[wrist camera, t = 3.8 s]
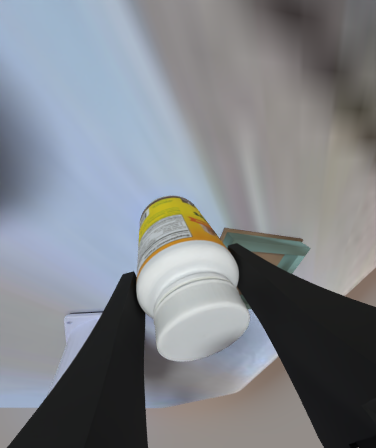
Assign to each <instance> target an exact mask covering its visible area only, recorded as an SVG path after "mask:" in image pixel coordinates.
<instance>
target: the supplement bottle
mask: <svg viewBox="0 0 376 448" xmlns="http://www.w3.org/2000/svg"><path fill="white" fill-rule="evenodd" d="M238 280H239V270H238V266H237V263H236V261H235V259H234V257H233V256H232V254H231V253H230V252H229V250H228V249H227V248H226V246H225V245H224V244H223V242H222V241H221V240H220V238H219V237H218V236H217V234H216V233H215V232H214V230H213V229H212V228H211V226H210V225H209V224H208V222H207V221H206V220H205V219H204V217H203V216H202V215H201V213H200V212H199V211H198V209H197V208H196V207H195V206H194V204H192V203H191V202H190V201H189V200H187V199H185V198H183V197H180V196H175V195H169V196H163V197H160V198H158V199H156V200H154V201H152V202H151V203H150V204H149V205H148V206H147V207H146V208H145V210H144V211H143V213H142V216H141V219H140V229H139V246H138V264H137V282H136V293H137V299H138V302H139V305H140V307H141V308H142V310H143V311H144V312H145V313H146V314H147V315H148V316H150V317H151V318H153V319H154V325H155V332H156V345H157V350H158V352H159V353H160V355H162V356H163V357H164V358H166V359H168V360H172V361H192V360H197V359H202V358H205V357H208V356H210V355H213V354H215V353H218V352H220V351H222V350H223V349H225V348H227V347H228V346H230V345H231V344H232V343H234V342H235V341H236V340H237V339H239V338H240V337H241V336H242V334H243V333H244V332H245V331H246V329H247V327H248V325H249V322H250V314H249V311H248V309H247V308H246V306H245V304H244V302H243V300H242V299H241V297H240V295H239V292H238V290H237V288H236V287H237V284H238Z"/></svg>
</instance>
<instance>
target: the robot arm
mask: <svg viewBox="0 0 376 448" xmlns="http://www.w3.org/2000/svg"><path fill="white" fill-rule="evenodd" d="M228 250H229V252H230V253H231V254H232V256H233V257H234V259H235V261H236V263H237V266H238V270H239V280H238V284H237V287H238V289H239V290H240V292H241V293H242V295H243V297H244V298H245V300H246V301H247V303H248V304H249V306H250V307H251V309H252V310H253V312H254V313H255V315H256V316H257V318H258V319H259V321H260V323H261V324H262V326H263V328H264V329H265V331H266V333H267V335H268V337H269V339H270V340H271V342H272V344H273V346H274V348H275V350H276V352H277V354H278V356H279V357H280V359H281V361H282V363H283V365H284V367H285V369H286V371H287V373H288V375H289V377H290V379H291V381H292V383H293V385H294V387H295V389H296V391H297V393H298V395H299V397H300V399H301V401H302V404H303V406H304V408H305V410H306V412H307V414H308V416H309V418H310V420H311V422H312V425H313V427H314V429H315V431H316V433H317V436H318V438H319V439H320V441H321V443H322V445H323V446H324V448H358V447H359V448H376V307H374V306H371V305H368V304H365V303H362V302H359V301H356V300H353V299H350V298H348V297H345V296H342V295H340V294H337V293H335V292H332V291H329V290H327V289H324V288H322V287H319V286H317V285H315V284H313V283H310V282H308V281H306V280H304V279H301V278H299V277H297V276H295V275H293V274H291V273H289V272H287V271H285V270H283V269H281V268H279V267H277V266H275V265H274V264H272V263H270V262H268V261H266V260H265V259H263V258H261V257H259V256H258V255H256V254H254V253H253V252H251V251H249V250H248V249H246V248H244V247H243V246H241V245H239V244H238V243H235V244H231V245H228ZM136 282H137V277H136V275H135V273H134V271H133V272H130V273H126V274H123V275H122V277H121V279H120V281H119V283H118V285H117V287H116V289H115V291H114V292H113V294H112V296H111V298H110V300H109V302H108V304H107V306H106V307H105V309H104V311H103V312H101V313H82V314H69V315H66V317H65V319H64V324H65V334H66V344H67V345H66V347H65V350H64V353H63V355H62V358H61V361H60V363H59V366H58V369H57V371H56V374H55V377H54V379H53V382H52V385H51V387H50V390H49V393H48V395H47V397H46V399H45V400H44V401H43V403H42V404H41V405H40V407H39V408H38V409H37V410H36V412H35V413H34V414H33V416H32V417H31V418H30V419H29V421H28V422H27V423H26V425H25V426H24V427H23V428H22V429H21V431H20V432H19V433H18V435H17V436H16V437H15V438H14V440H13V441H12V442H11V443H10V445H9V446H8V447H7V448H148V442H147V427H146V410H145V390H144V340H145V312H144V311H143V310H142V308H141V307H140V305H139V302H138V299H137V293H136Z"/></svg>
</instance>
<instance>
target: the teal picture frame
mask: <svg viewBox="0 0 376 448" xmlns="http://www.w3.org/2000/svg"><path fill="white" fill-rule="evenodd" d="M220 240H221V241H222V242H223V244H224V245H225V246H226V248H227V249H228V245H231V244H235V243H238V244H239V245H241V246H243V247H244V248H246V249H248V250H249V251H251V252H253V253H254V254H256V255H258V256H259V257H261V258H263V259H265V260H266V261H268V262H270V263H272V264H274V265H275V266H277V267H279V268H281V269H283V270H285V271H287V272H289V273H291V274H292V273H293V272H294V270H295V269H296V268H297V266H298V265H299V264H300V262H301V261H302V259H303V258H304V257H305V255H306V254H307V253H308V251H309V250H310V249H311V248H309V247H308V246H306V245H305V244H303V243H302V241H303V239H300V238H293V237H286V236H279V235H272V234H265V233H257V232H250V231H243V230H236V229H229V228H224V230H223V233H222V235H221V237H220ZM236 288H237V290H238V292H239V295H240V297H241V299H242V300H243V302H244V304H245V306H246V308H247V309H251V307H250V306H249V304H248V303H247V301H246V300H245V298H244V297H243V295H242V293H241V292H240V290H239V289H238V287H236Z"/></svg>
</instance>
